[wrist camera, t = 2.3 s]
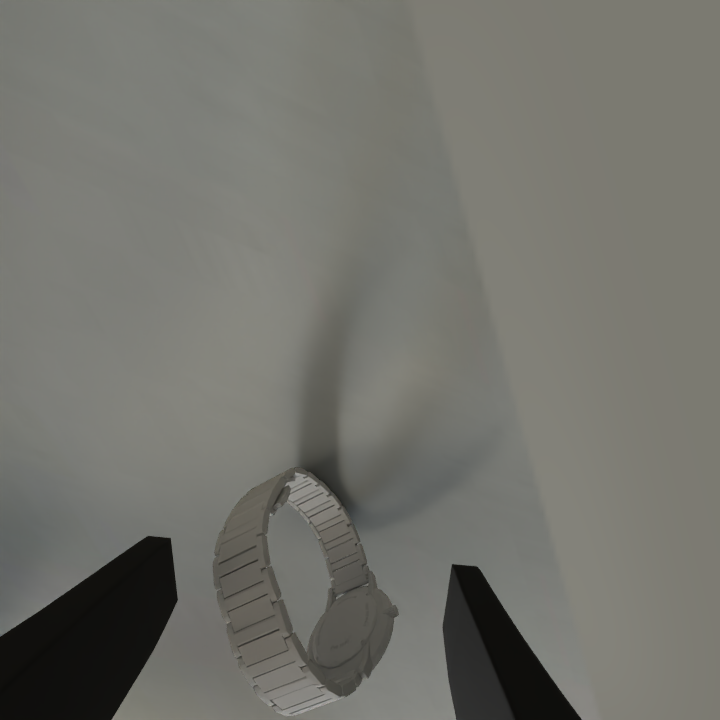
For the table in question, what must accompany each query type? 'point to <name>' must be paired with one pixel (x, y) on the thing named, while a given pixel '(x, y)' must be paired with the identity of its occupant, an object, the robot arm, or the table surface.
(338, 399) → the table surface
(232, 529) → the wristwatch
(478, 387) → the table surface
